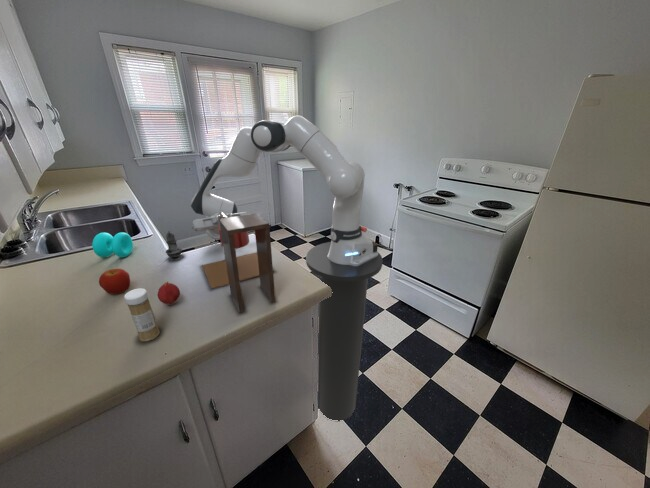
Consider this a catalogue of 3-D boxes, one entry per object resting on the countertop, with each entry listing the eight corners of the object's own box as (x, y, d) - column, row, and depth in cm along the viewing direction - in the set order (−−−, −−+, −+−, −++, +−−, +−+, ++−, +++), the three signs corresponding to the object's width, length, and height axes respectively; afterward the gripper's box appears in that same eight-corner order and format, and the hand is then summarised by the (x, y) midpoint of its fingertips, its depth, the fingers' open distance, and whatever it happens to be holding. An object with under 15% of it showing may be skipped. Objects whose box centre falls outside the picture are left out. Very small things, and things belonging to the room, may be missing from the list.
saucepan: (235, 224, 105) (232, 208, 103) (252, 244, 89) (250, 227, 86) (210, 228, 101) (207, 213, 98) (224, 251, 84) (221, 233, 82)
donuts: (112, 250, 114) (104, 228, 110) (137, 250, 114) (130, 228, 110) (95, 262, 105) (86, 238, 101) (122, 261, 105) (114, 238, 101)
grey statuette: (185, 254, 112) (178, 227, 107) (182, 260, 107) (175, 232, 102) (169, 255, 110) (162, 228, 105) (165, 262, 105) (158, 234, 100)
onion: (156, 308, 80) (149, 286, 76) (169, 297, 85) (163, 275, 82) (174, 310, 79) (168, 288, 76) (186, 299, 84) (180, 277, 81)
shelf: (263, 286, 91) (257, 213, 81) (275, 301, 84) (269, 223, 73) (231, 295, 86) (218, 219, 75) (239, 313, 78) (227, 230, 68)
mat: (257, 253, 114) (257, 252, 114) (274, 272, 100) (274, 271, 100) (202, 266, 103) (202, 265, 103) (211, 289, 89) (211, 288, 89)
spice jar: (160, 327, 73) (146, 285, 67) (159, 338, 69) (145, 295, 63) (140, 333, 71) (124, 290, 65) (138, 345, 67) (122, 300, 61)
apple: (110, 301, 83) (102, 279, 79) (99, 293, 86) (90, 272, 83) (137, 289, 89) (130, 268, 85) (126, 282, 92) (119, 262, 89)
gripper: (189, 221, 104) (190, 212, 92) (242, 213, 114) (249, 204, 102) (193, 237, 104) (195, 230, 92) (246, 227, 114) (253, 220, 102)
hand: (224, 217), depth 97 cm, fingers closed on saucepan, 2 cm apart
